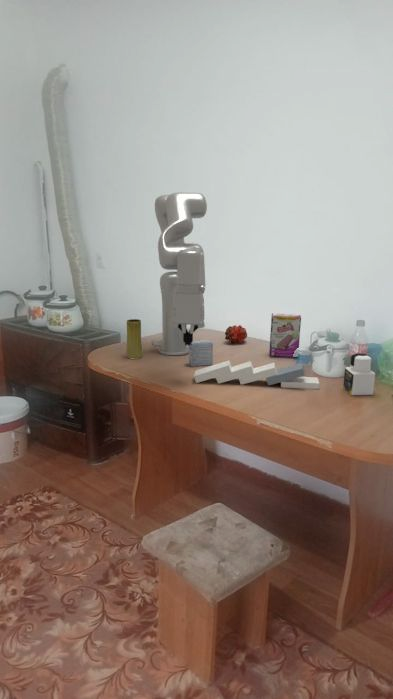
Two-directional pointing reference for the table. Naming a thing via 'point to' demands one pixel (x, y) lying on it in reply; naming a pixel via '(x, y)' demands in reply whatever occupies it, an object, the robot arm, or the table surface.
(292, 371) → the domino
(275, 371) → the domino
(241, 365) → the domino
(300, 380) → the domino
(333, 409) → the table surface
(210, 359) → the medicine box
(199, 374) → the domino
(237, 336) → the dragon fruit
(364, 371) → the medicine bottle
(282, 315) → the candy bar box
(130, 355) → the vase
